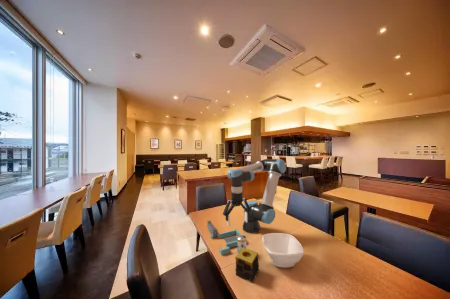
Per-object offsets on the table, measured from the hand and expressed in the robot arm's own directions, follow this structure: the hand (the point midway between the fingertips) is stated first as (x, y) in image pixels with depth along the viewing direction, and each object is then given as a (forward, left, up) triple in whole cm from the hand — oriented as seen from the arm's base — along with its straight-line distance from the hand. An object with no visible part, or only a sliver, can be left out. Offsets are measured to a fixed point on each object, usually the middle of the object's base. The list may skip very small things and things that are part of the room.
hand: (237, 223), depth 105 cm
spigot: (-3, +1, -18) cm, 19 cm away
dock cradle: (+10, -7, -18) cm, 22 cm away
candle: (-11, +16, -19) cm, 27 cm away
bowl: (-28, 0, -19) cm, 34 cm away
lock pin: (+28, -14, -18) cm, 37 cm away
